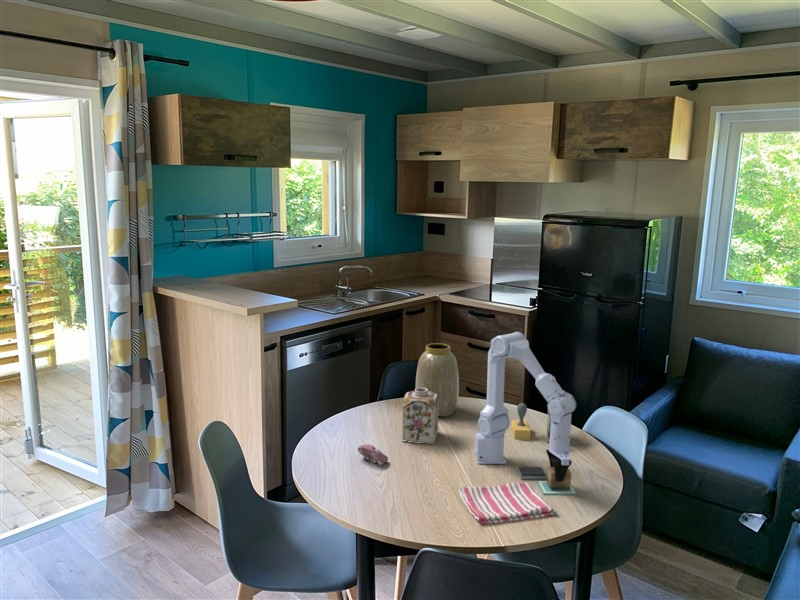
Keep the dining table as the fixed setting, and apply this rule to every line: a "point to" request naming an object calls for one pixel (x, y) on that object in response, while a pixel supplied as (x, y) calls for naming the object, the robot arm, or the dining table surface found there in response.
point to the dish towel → (505, 503)
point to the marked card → (548, 491)
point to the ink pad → (531, 473)
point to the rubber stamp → (521, 424)
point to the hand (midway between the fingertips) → (557, 477)
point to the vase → (439, 376)
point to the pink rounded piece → (372, 453)
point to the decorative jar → (420, 416)
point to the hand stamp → (553, 483)
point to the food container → (548, 426)
